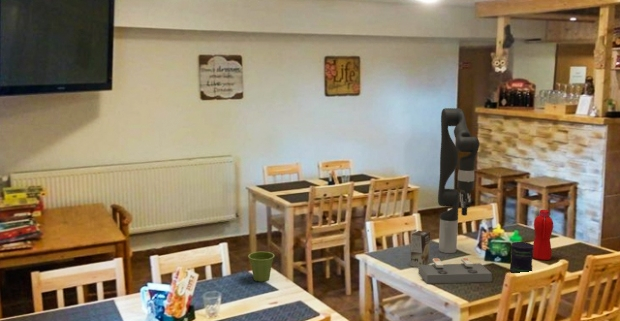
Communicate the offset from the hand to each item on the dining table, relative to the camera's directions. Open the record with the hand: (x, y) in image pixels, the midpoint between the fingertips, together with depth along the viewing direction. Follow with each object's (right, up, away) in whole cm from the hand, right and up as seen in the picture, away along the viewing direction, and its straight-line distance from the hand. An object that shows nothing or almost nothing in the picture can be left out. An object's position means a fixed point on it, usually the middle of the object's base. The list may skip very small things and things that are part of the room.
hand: (464, 215), depth 288 cm
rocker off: (-13, -22, -4) cm, 26 cm away
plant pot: (-95, -29, -10) cm, 100 cm away
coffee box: (-19, -26, +11) cm, 34 cm away
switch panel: (-6, -28, -6) cm, 30 cm away
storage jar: (+26, -28, -3) cm, 38 cm away
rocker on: (+1, -22, -3) cm, 22 cm away
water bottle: (+45, -24, +23) cm, 56 cm away
